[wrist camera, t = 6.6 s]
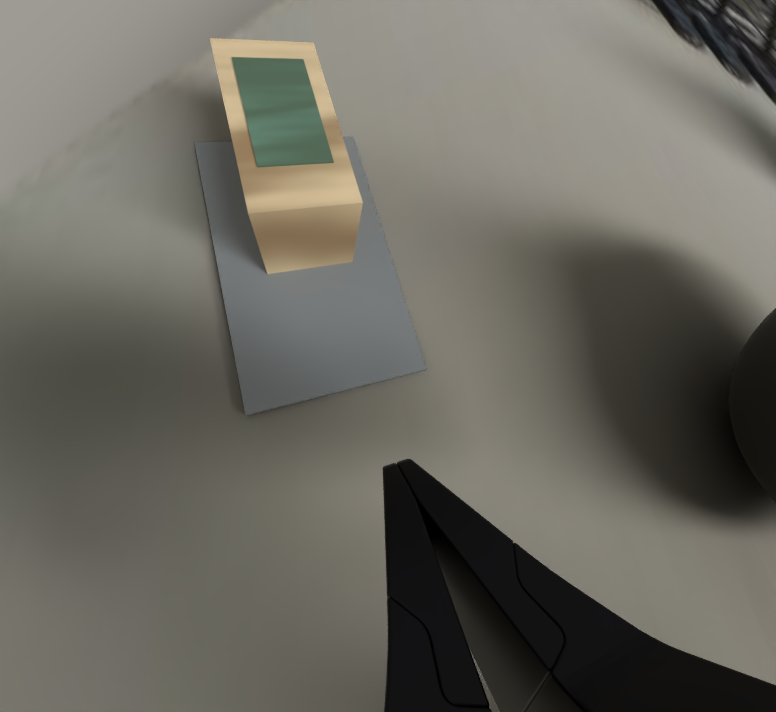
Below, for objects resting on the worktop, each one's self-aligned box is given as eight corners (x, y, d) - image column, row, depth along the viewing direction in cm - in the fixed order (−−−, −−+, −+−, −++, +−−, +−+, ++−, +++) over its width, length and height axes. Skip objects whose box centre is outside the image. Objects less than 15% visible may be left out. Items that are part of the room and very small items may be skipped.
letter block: (363, 201, 14) (313, 40, 16) (247, 212, 13) (209, 36, 15) (352, 261, 19) (315, 131, 21) (267, 274, 18) (236, 134, 20)
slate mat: (424, 370, 19) (426, 368, 18) (247, 415, 16) (245, 414, 16) (352, 141, 22) (353, 136, 22) (196, 148, 19) (194, 142, 19)
